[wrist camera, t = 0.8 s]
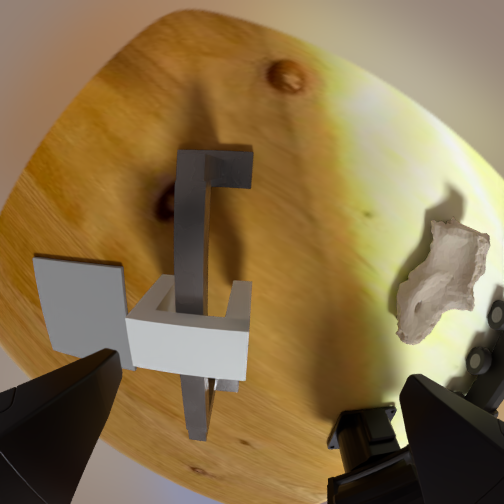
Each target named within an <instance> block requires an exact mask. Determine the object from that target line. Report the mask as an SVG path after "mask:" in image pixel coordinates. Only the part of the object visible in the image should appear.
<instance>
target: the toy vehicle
mask: <svg viewBox="0 0 504 504" xmlns="http://www.w3.org/2000/svg"><path fill="white" fill-rule="evenodd" d="M487 318H488V323H489V326H490V327H491V328H492V329H495V330H503V332H502V334H501V336H500V338H499V340H498V342H497V344H496V346H495V348H494V350H493V351H492V353H491V352H490V351H489V349H487V348H483V347H477V348H474V349H472V350H471V352H470V353H469V355H468V357H467V361H466V367H467V370H468V372H469V373H470V374H473V375H479V376H478V377H477V379H476V381H475V382H474V384H473V385H472V387H471V388H470V390H469V391H468V393H467V394H466V396H464V395H463V394H462V393H461V392H453V393H455V394H456V395H458V396H460V397H461V398H463V399H465V400H467V401H468V402H470V403H472V404H473V405H475V406H477V407H479V408H480V409H482V410H484V411H486V412H487V413H489V414H491V415H493V416H494V417H496V418H497V417H498V411H497V410H496V409H497V408H498V407H499V405H500V404H501V402H502V401H503V399H504V301H500V300H499V301H496V302H494V303H493V305H492V308H491V310H490V312H489V315H488V317H487Z"/></svg>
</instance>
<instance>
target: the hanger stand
mask: <svg viewBox="0 0 504 504" xmlns="http://www.w3.org/2000/svg"><path fill="white" fill-rule="evenodd" d="M252 167H253V152H241V151H218V150H178V152H177V170H176V181H175V197H174V281H175V308H176V313H185V314H194V315H204V316H208V250H209V219H210V196H211V187H230V188H246V189H251V182H252ZM180 377H181V387H182V396H183V405H184V413H185V420H186V428H187V430H188V432H189V439H192V440H199V441H206V440H207V434H208V429H209V423H210V418H211V412H212V407H213V401H214V396H215V391H216V390H219V391H230V392H238V388H239V380H228V379H218V378H208V377H200V376H192V375H184V374H180Z"/></svg>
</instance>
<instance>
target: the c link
mask: <svg viewBox="0 0 504 504" xmlns="http://www.w3.org/2000/svg"><path fill="white" fill-rule="evenodd" d="M251 291H252V282H251V281H237V280H233V285H232V289H231V294H230V298H229V303H228V307H227V312H226V316H225V317H215V316H204V315H194V314H185V313H176V308H175V281H174V275H166V274H162V275H161V276H160V278H159V279H158V280H157V281H156V282H155V283H154V284H153V286H152V287H151V288H150V289H149V290H148V291H147V293H146V294H145V295H144V296H143V297H142V298H141V300H140V301H139V302H138V303H137V304H136V306H135V307H134V308H133V309H132V310H131V311H130V313H129V314H128V315H127V316H126V317H125V321H126V328H127V334H128V340H129V346H130V352H131V357H132V362H133V366H136V367H141V368H147V369H152V370H158V371H164V372H170V373H177V374H184V375H192V376H200V377H208V378H218V379H228V380H241V381H245V379H246V366H247V353H248V340H249V325H250V308H251Z"/></svg>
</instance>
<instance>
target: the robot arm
mask: <svg viewBox="0 0 504 504" xmlns="http://www.w3.org/2000/svg"><path fill="white" fill-rule="evenodd" d="M121 379H122V367H121V361H120V355H119V352H118V351H117V350H114V349H110V348H104V349H102V350H99V351H97V352H95V353H93V354H90V355H88V356H86V357H84V358H81V359H79V360H77V361H75V362H72V363H70V364H68V365H65V366H63V367H61V368H59V369H56V370H54V371H52V372H49V373H47V374H45V375H42V376H40V377H37V378H35V379H33V380H30V381H28V382H26V383H23V384H21V385H18V386H17V388H16V387H14V388H11V389H9V390H6V391H4V392H1V393H0V504H70V503H71V501H72V498H73V496H74V493H75V491H76V488H77V486H78V484H79V481H80V479H81V477H82V474H83V472H84V470H85V467H86V465H87V463H88V460H89V458H90V456H91V454H92V451H93V449H94V447H95V445H96V443H97V440H98V438H99V436H100V434H101V432H102V430H103V428H104V425H105V423H106V421H107V419H108V417H109V414H110V411H111V408H112V405H113V402H114V399H115V396H116V393H117V390H118V387H119V385H120V382H121ZM399 400H400V405H401V410H402V414H403V419H404V424H405V430H406V434H407V439H408V442H409V444H408V445H407V446H406V447H404V448H402V449H400V446H399V444H398V441H397V439H396V434H395V432H394V430H393V427H392V425H391V423H390V422H391V420H392V419H393V417H394V415H395V413H396V411H397V409H396V407H395V406H391V407H384V408H375V409H366V410H356V411H345V412H342V413H341V414H340V416H339V419H338V421H337V423H336V426H335V428H334V431H333V433H332V435H331V438H330V440H329V442H328V445H327V447H328V449H340V453H341V457H342V462H343V466H344V470H345V473H344V474H342V475H339V476H336V477H331V478H328V485H327V504H504V422H503V421H501V420H500V419H497V418H496V417H494V416H493V415H491V414H489V413H487V412H486V411H484V410H482V409H480V408H479V407H477V406H475V405H473V404H472V403H470V402H468V401H467V400H465V399H463V398H461V397H460V396H458V395H456V394H455V393H453V392H451V391H449V390H448V389H446V388H444V387H443V386H441V385H439V384H437V383H436V382H434V381H432V380H431V379H429V378H427V377H426V376H424V375H422V374H412V375H410V376H409V377H408V378H407V380H406V382H405V384H404V387H403V389H402V391H401V393H400V397H399Z"/></svg>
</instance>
